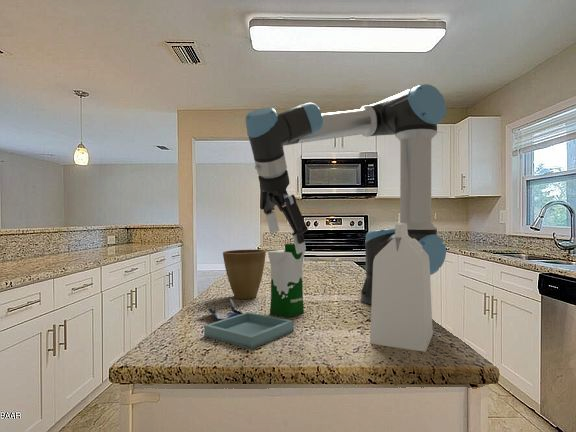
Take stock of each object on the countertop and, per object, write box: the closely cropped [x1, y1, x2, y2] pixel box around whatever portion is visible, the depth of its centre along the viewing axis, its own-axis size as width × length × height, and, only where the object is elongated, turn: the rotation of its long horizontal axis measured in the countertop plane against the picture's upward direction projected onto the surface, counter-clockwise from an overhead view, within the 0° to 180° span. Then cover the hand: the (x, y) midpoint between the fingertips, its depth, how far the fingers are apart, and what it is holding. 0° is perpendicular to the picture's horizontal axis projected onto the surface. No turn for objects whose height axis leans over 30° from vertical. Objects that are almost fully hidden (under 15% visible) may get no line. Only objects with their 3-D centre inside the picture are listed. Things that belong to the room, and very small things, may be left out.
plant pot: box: [222, 249, 267, 300], centre depth 131 cm, size 15×15×16 cm
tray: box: [203, 311, 294, 350], centre depth 90 cm, size 15×15×2 cm
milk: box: [369, 223, 434, 353], centre depth 85 cm, size 12×12×26 cm
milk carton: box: [267, 243, 306, 319], centre depth 109 cm, size 9×9×20 cm
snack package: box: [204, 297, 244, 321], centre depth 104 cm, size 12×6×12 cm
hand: (287, 241), depth 105 cm, fingers open, 13 cm apart
